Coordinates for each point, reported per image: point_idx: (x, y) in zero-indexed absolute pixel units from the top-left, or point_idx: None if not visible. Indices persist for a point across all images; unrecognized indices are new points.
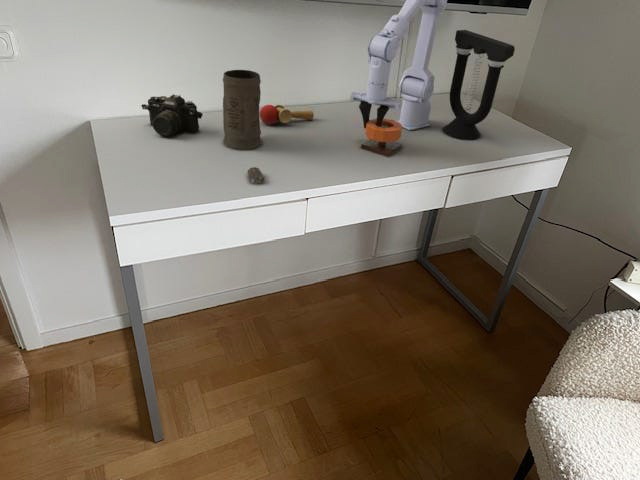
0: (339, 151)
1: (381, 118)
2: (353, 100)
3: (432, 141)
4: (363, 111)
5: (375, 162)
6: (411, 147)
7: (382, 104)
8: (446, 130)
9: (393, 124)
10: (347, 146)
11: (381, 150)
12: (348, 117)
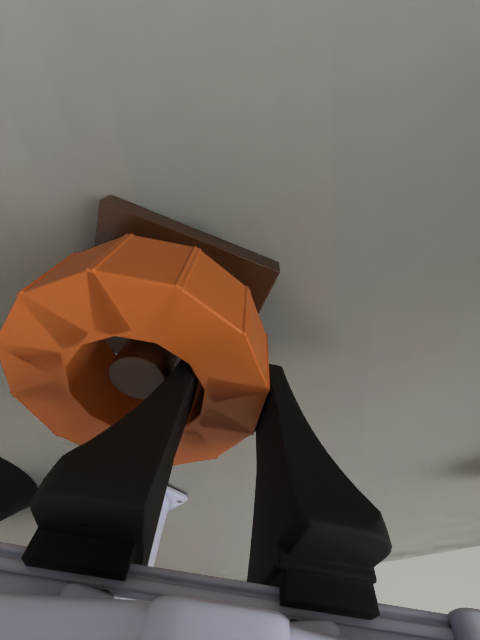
0: (417, 159)
1: (130, 412)
2: (465, 614)
3: (17, 411)
4: (317, 473)
5: (154, 47)
6: None
7: (81, 589)
8: (8, 478)
9: (78, 406)
10: (356, 258)
11: (149, 219)
12: None
